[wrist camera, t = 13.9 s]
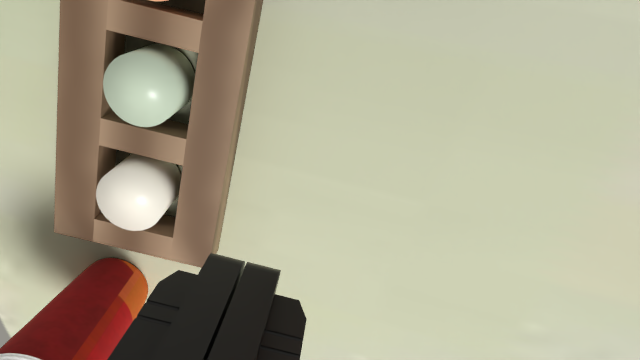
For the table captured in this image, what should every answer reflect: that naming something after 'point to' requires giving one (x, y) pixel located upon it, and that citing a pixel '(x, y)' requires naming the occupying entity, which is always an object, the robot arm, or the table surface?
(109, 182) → the cream button
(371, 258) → the table surface
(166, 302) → the robot arm
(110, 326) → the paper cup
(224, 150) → the button board
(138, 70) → the sage button
